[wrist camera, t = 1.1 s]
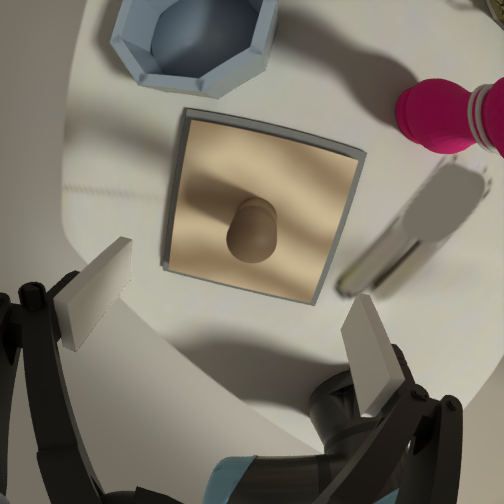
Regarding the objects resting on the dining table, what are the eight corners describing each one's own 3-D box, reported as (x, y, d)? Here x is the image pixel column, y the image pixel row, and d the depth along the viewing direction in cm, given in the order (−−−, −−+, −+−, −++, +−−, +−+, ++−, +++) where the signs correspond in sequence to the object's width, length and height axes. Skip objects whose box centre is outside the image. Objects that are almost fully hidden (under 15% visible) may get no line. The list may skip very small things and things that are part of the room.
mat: (314, 303, 35) (314, 306, 34) (164, 267, 34) (162, 270, 34) (365, 152, 27) (367, 152, 27) (189, 109, 27) (187, 108, 26)
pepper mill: (385, 83, 24) (523, 49, 6) (442, 83, 23) (587, 76, 5) (395, 151, 27) (537, 203, 9) (451, 147, 26) (593, 195, 8)
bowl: (256, 106, 27) (251, 100, 20) (134, 89, 26) (99, 83, 20) (285, -6, 21) (287, -37, 15) (164, -16, 21) (139, -42, 14)
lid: (309, 297, 34) (315, 337, 27) (171, 264, 33) (148, 298, 27) (355, 159, 27) (378, 170, 21) (194, 120, 27) (170, 119, 20)
